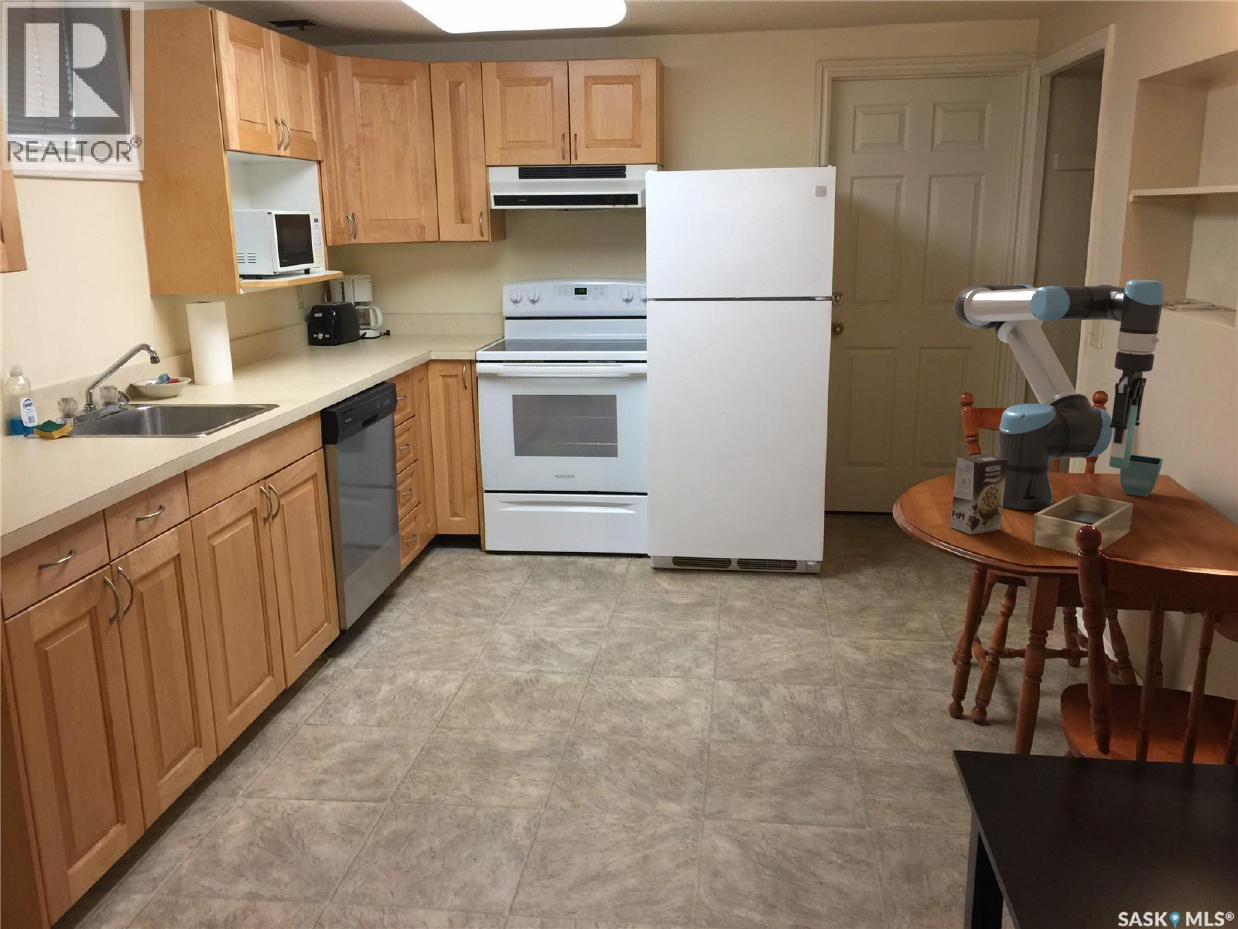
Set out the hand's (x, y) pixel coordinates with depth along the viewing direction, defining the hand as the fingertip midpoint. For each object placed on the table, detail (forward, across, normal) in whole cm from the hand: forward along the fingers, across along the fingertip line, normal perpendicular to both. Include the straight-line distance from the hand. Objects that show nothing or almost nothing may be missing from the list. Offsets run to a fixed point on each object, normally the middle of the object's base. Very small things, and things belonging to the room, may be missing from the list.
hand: (1120, 454), depth 222 cm
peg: (+3, 0, 0) cm, 3 cm away
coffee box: (+15, -30, +18) cm, 39 cm away
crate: (+15, -20, 0) cm, 25 cm away
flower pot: (+15, +27, +2) cm, 31 cm away
